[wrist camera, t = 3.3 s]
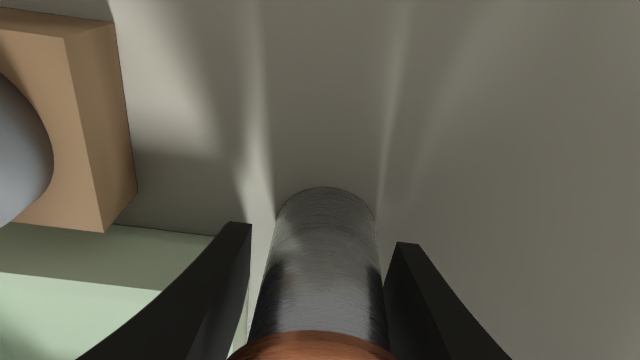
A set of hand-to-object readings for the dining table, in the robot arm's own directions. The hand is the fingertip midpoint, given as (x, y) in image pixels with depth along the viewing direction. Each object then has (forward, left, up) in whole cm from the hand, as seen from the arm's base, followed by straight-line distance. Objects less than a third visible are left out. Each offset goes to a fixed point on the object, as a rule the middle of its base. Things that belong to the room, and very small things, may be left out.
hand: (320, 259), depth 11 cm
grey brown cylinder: (0, 0, -2) cm, 2 cm away
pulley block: (+9, -3, -2) cm, 9 cm away
